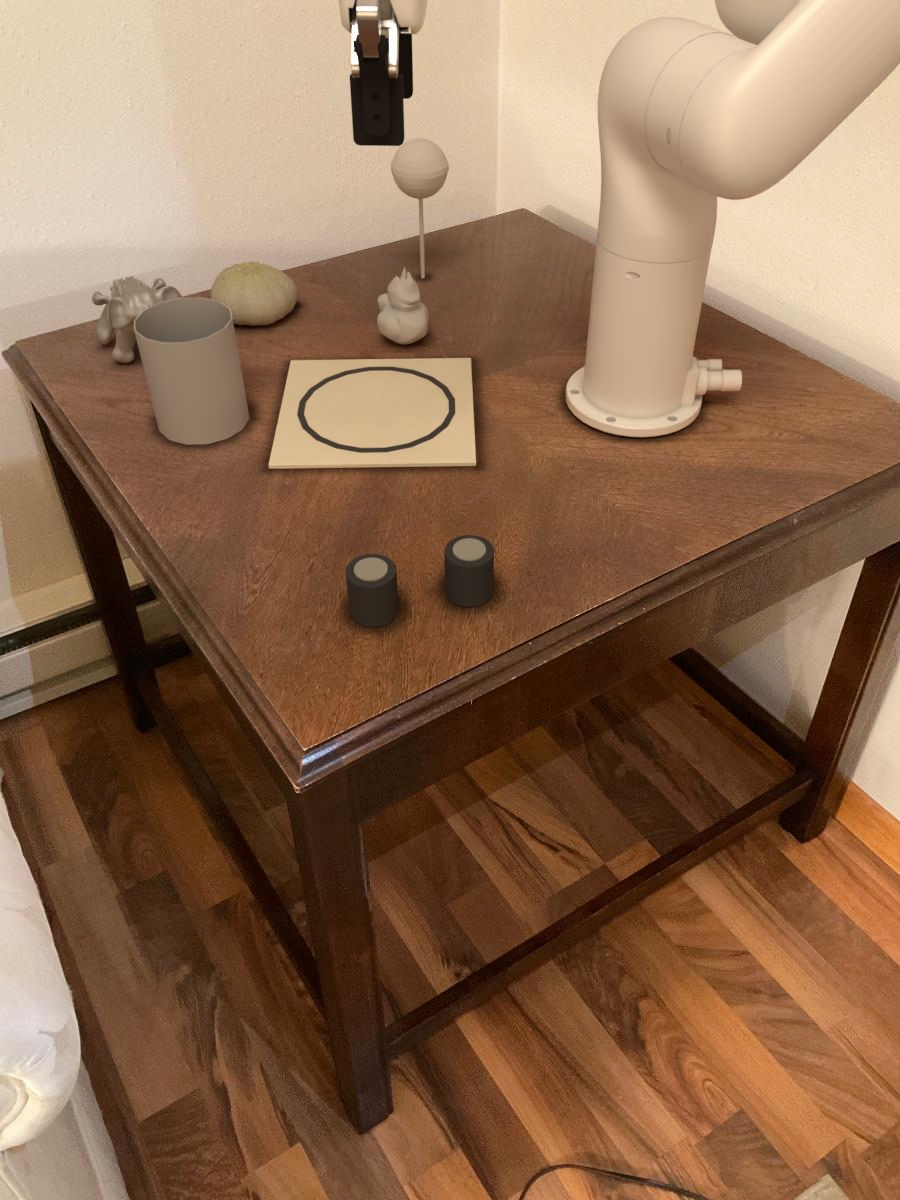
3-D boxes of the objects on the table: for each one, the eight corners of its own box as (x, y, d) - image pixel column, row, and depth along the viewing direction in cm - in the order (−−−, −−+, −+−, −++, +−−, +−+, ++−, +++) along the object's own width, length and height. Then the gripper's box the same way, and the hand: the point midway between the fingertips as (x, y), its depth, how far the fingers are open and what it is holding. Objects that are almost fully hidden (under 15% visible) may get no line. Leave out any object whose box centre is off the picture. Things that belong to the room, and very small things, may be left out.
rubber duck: (401, 358, 99) (398, 282, 94) (362, 334, 103) (356, 260, 97) (442, 340, 102) (441, 266, 96) (402, 318, 105) (399, 245, 100)
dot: (399, 593, 74) (397, 551, 71) (398, 627, 71) (395, 585, 68) (351, 594, 74) (346, 552, 71) (348, 628, 71) (343, 585, 68)
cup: (229, 449, 88) (210, 347, 81) (143, 439, 89) (116, 338, 82) (261, 399, 94) (245, 301, 87) (180, 391, 95) (158, 293, 88)
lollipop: (458, 271, 114) (457, 134, 103) (436, 293, 110) (434, 153, 99) (409, 262, 115) (404, 127, 105) (387, 283, 112) (379, 144, 101)
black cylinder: (492, 574, 75) (493, 532, 72) (494, 607, 73) (495, 564, 70) (444, 575, 75) (444, 533, 72) (445, 608, 73) (444, 565, 70)
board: (470, 361, 99) (471, 356, 98) (476, 466, 86) (476, 461, 85) (291, 363, 99) (290, 359, 98) (268, 469, 86) (268, 464, 85)
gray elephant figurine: (155, 320, 106) (139, 251, 100) (229, 356, 100) (216, 284, 95) (82, 354, 100) (61, 283, 95) (156, 394, 95) (138, 320, 90)
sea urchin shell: (270, 265, 111) (286, 233, 103) (297, 331, 111) (315, 304, 104) (193, 285, 107) (203, 254, 100) (221, 353, 107) (233, 327, 100)
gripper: (433, -195, 48) (435, 166, 60) (444, -220, 61) (445, 82, 73) (280, -196, 48) (312, 164, 60) (323, -220, 61) (343, 81, 73)
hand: (385, 119), depth 66 cm, fingers open, 9 cm apart
